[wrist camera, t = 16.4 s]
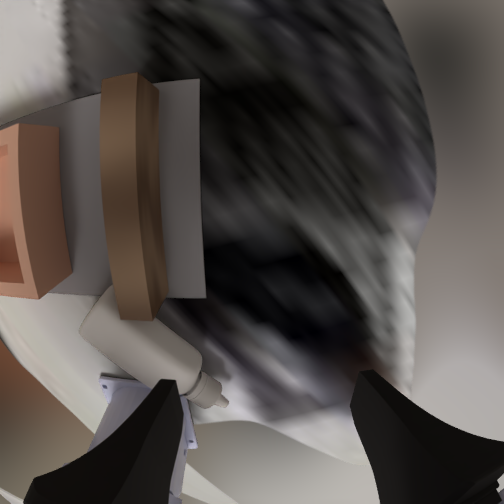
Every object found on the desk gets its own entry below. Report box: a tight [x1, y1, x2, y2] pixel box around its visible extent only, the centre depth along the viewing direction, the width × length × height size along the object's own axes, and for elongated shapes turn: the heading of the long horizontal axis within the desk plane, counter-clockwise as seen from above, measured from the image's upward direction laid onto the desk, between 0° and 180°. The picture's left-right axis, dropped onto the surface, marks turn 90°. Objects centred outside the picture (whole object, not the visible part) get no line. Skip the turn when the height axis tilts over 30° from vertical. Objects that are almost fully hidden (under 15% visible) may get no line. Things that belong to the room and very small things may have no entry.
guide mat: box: [0, 79, 206, 298], centre depth 17 cm, size 14×24×1 cm, turn 90°
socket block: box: [0, 123, 72, 299], centre depth 14 cm, size 10×9×4 cm
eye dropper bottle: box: [79, 285, 229, 409], centre depth 18 cm, size 4×6×12 cm
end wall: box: [100, 72, 169, 321], centre depth 15 cm, size 13×2×4 cm, turn 0°
